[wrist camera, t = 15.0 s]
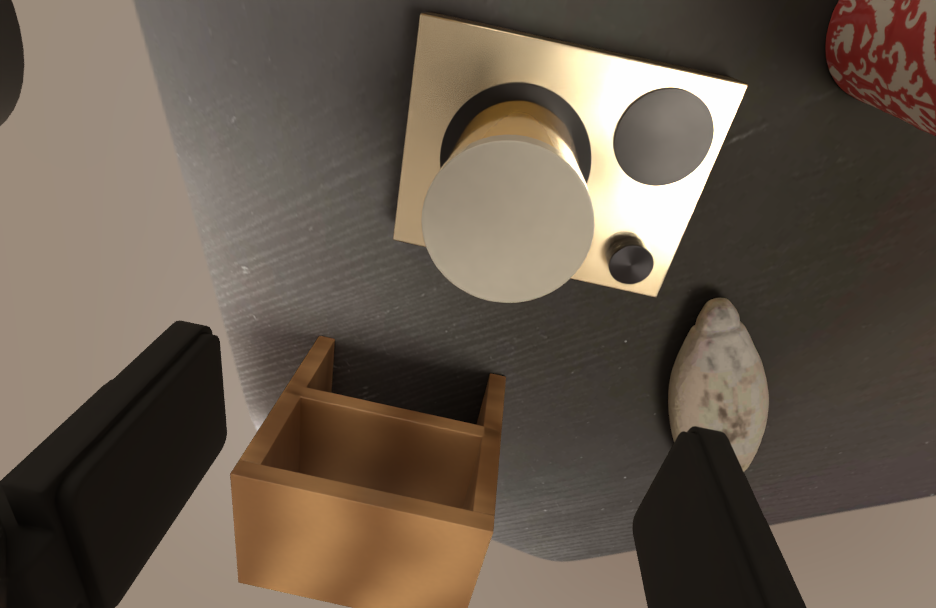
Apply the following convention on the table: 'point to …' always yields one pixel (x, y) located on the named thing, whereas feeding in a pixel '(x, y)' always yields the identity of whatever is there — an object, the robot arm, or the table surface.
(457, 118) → the hob
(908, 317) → the table surface
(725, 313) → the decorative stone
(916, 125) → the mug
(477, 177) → the jar
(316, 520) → the shelf
